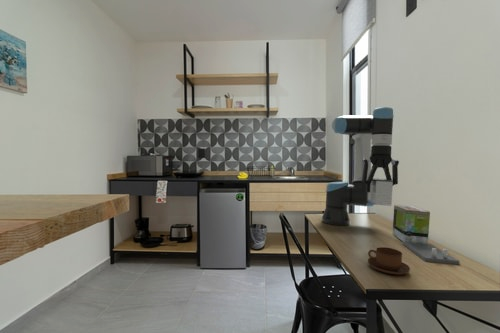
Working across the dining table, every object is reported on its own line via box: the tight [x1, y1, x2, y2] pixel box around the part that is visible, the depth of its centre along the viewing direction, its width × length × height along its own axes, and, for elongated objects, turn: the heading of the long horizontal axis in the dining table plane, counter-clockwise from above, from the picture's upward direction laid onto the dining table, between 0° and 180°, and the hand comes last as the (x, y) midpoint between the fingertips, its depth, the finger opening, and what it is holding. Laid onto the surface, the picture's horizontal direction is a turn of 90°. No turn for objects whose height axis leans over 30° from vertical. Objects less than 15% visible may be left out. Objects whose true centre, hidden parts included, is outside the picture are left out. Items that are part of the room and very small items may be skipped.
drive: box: [367, 177, 394, 207], centre depth 108 cm, size 12×6×10 cm, turn 170°
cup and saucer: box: [367, 246, 411, 276], centre depth 83 cm, size 12×12×6 cm
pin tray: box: [402, 236, 460, 265], centre depth 100 cm, size 19×11×4 cm, turn 171°
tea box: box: [392, 204, 431, 244], centre depth 119 cm, size 15×10×15 cm
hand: (378, 200), depth 108 cm, fingers closed on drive, 6 cm apart
